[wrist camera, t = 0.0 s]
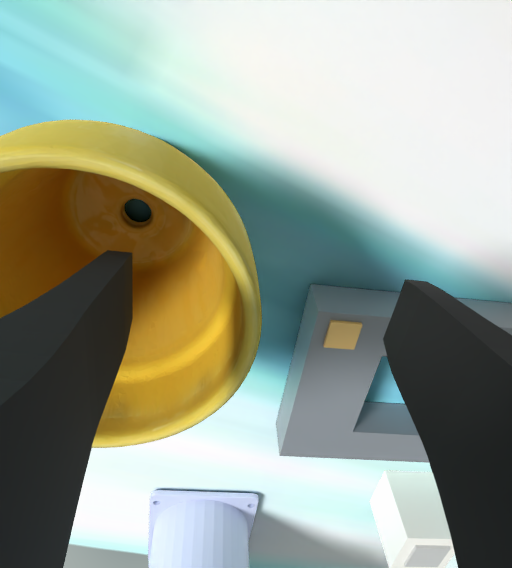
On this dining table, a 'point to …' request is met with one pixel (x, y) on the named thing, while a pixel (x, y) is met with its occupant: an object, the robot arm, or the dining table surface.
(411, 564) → the plug block
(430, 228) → the dining table surface
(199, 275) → the plant pot
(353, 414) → the socket plate
